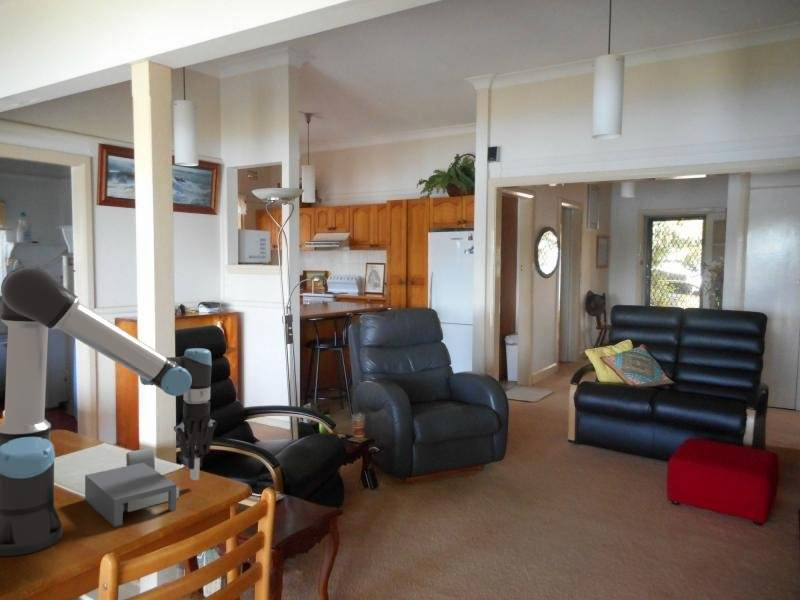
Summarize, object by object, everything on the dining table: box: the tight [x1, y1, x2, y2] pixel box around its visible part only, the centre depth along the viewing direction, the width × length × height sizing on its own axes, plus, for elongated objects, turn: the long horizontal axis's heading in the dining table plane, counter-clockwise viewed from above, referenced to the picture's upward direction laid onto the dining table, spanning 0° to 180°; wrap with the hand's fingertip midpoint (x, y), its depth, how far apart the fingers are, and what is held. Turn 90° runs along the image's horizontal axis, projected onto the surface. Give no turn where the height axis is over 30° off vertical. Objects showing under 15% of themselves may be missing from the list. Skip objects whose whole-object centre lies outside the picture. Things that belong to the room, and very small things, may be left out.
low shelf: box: [84, 463, 177, 528], centre depth 159 cm, size 16×22×7 cm
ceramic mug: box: [125, 447, 156, 471], centre depth 181 cm, size 11×8×8 cm
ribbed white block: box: [123, 485, 180, 513], centre depth 163 cm, size 14×9×3 cm, turn 136°
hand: (194, 478), depth 173 cm, fingers closed
